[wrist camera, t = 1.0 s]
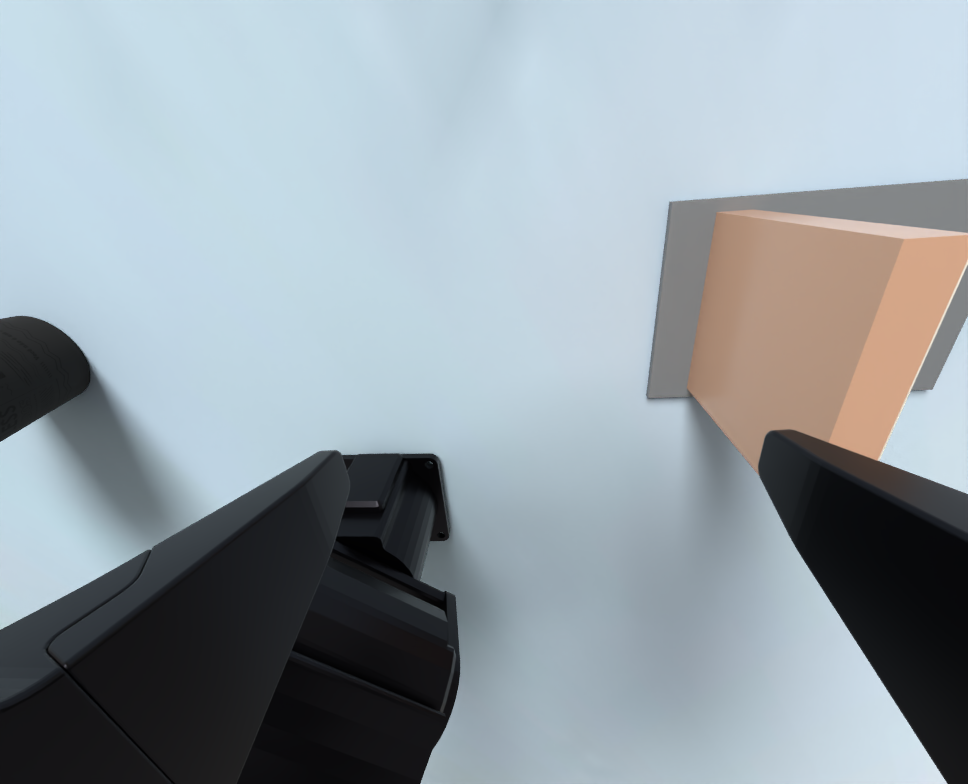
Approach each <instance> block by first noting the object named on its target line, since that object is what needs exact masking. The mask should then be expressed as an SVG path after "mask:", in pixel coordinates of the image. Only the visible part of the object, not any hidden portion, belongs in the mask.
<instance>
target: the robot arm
mask: <svg viewBox="0 0 968 784" xmlns="http://www.w3.org/2000/svg"><path fill="white" fill-rule="evenodd" d="M428 461H430V462H432V463H433V464H428V463H427V462H428ZM758 473H759V476H760V478H761V480H762V482H763V484H764V486H765V488H766V490H767V492H768V494H769V496H770V498H771V500H772V502H773V504H774V506H775V508H776V510H777V512H778V514H779V516H780V518H781V520H782V522H783V524H784V526H785V528H786V530H787V532H788V534H789V536H790V538H791V540H792V542H793V543H794V545H795V547H796V548H797V550H798V552H799V553H800V555H801V557H802V558H803V560H804V561H805V563H806V565H807V566H808V568H809V569H810V571H811V572H812V574H813V575H814V577H815V579H816V580H817V582H818V583H819V585H820V586H821V588H822V589H823V591H824V592H825V594H826V596H827V597H828V599H829V600H830V602H831V603H832V605H833V606H834V608H835V610H836V611H837V613H838V614H839V616H840V617H841V619H842V620H843V622H844V624H845V625H846V627H847V628H848V630H849V631H850V633H851V634H852V636H853V638H854V639H855V641H856V642H857V644H858V645H859V647H860V648H861V650H862V652H863V653H864V655H865V656H866V658H867V659H868V661H869V662H870V664H871V666H872V667H873V669H874V670H875V672H876V673H877V675H878V676H879V678H880V680H881V681H882V683H883V684H884V686H885V687H886V689H887V690H888V692H889V694H890V695H891V697H892V698H893V700H894V701H895V703H896V704H897V706H898V708H899V709H900V711H901V712H902V714H903V715H904V717H905V718H906V720H907V722H908V723H909V725H910V726H911V728H912V729H913V731H914V732H915V734H916V736H917V737H918V739H919V740H920V742H921V743H922V745H923V746H924V748H925V750H926V751H927V753H928V754H929V756H930V757H931V759H932V760H933V762H934V764H935V765H936V767H937V768H938V770H939V771H940V773H941V774H942V776H943V778H944V779H945V781H946V782H947V784H968V494H966V493H964V492H961V491H958V490H955V489H953V488H950V487H947V486H945V485H942V484H939V483H937V482H934V481H931V480H928V479H926V478H923V477H920V476H918V475H915V474H912V473H909V472H907V471H904V470H901V469H899V468H896V467H893V466H891V465H888V464H885V463H882V462H880V461H877V460H874V459H872V458H869V457H866V456H864V455H861V454H858V453H855V452H853V451H850V450H847V449H845V448H842V447H839V446H837V445H834V444H831V443H828V442H826V441H823V440H820V439H818V438H815V437H812V436H810V435H807V434H804V433H801V432H799V431H796V430H791V429H785V430H771V431H769V432H768V433H767V434H766V435H765V438H764V442H763V446H762V450H761V454H760V458H759V462H758ZM440 532H442V533H440ZM449 533H450V528H449V521H448V515H447V509H446V502H445V496H444V489H443V483H442V476H441V470H440V463H439V459H438V457H437V456H436V455H434V454H358V455H341V453H340V452H339V451H337V450H330V451H319V452H317V453H316V454H314V455H312V456H310V457H309V458H307V459H305V460H303V461H302V462H300V463H298V464H296V465H295V466H293V467H291V468H289V469H288V470H286V471H284V472H282V473H281V474H279V475H277V476H276V477H274V478H272V479H270V480H269V481H267V482H265V483H263V484H262V485H260V486H258V487H256V488H255V489H253V490H251V491H249V492H248V493H246V494H244V495H242V496H241V497H239V498H237V499H236V500H234V501H232V502H230V503H229V504H227V505H225V506H223V507H222V508H220V509H218V510H216V511H215V512H213V513H211V514H209V515H208V516H206V517H204V518H203V519H201V520H199V521H197V522H196V523H194V524H192V525H190V526H189V527H187V528H185V529H183V530H182V531H180V532H178V533H176V534H175V535H173V536H171V537H169V538H168V539H166V540H164V541H163V542H161V543H159V544H157V545H156V546H154V547H153V548H152V550H147V551H145V552H143V553H141V554H140V555H138V556H136V557H135V558H133V559H131V560H129V561H128V562H126V563H124V564H122V565H120V566H119V567H117V568H115V569H113V570H112V571H110V572H108V573H106V574H104V575H103V576H101V577H99V578H97V579H95V580H94V581H92V582H90V583H88V584H86V585H85V586H83V587H81V588H79V589H77V590H75V591H73V592H71V593H70V594H68V595H66V596H64V597H62V598H60V599H58V600H57V601H55V602H53V603H51V604H49V605H47V606H45V607H43V608H41V609H40V610H38V611H36V612H34V613H32V614H30V615H28V616H26V617H24V618H22V619H20V620H19V621H17V622H15V623H13V624H11V625H9V626H7V627H5V628H3V629H1V630H0V784H420V783H421V780H422V777H423V774H424V771H425V769H426V766H427V763H428V760H429V757H430V755H431V752H432V750H433V748H434V747H435V745H436V744H437V742H438V741H439V739H440V737H441V735H442V733H443V732H444V730H445V728H446V725H447V723H448V720H449V718H450V715H451V712H452V709H453V706H454V702H455V699H456V695H457V690H458V685H459V677H460V654H459V640H458V626H457V612H456V598H455V595H453V594H451V593H449V592H447V591H445V592H442V591H440V590H438V589H436V588H434V587H431V586H429V585H427V584H425V583H423V582H421V581H420V578H421V574H422V570H423V566H424V562H425V558H426V554H427V550H428V546H429V542H430V541H445V540H447V539H448V538H449Z"/></svg>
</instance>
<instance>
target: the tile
mask: <svg viewBox="0 0 968 784" xmlns="http://www.w3.org/2000/svg"><path fill="white" fill-rule="evenodd" d="M967 265H968V233H964V232H955V231H946V230H937V229H927V228H918V227H909V226H900V225H891V224H882V223H872V222H863V221H854V220H845V219H836V218H827V217H818V216H808V215H799V214H790V213H781V212H772V211H763V210H739V211H726V212H717V213H716V219H715V225H714V231H713V237H712V242H711V248H710V254H709V260H708V266H707V272H706V278H705V284H704V290H703V295H702V301H701V307H700V313H699V319H698V325H697V331H696V337H695V343H694V348H693V354H692V360H691V366H690V372H689V378H688V384H687V389H688V390H689V391H690V393H691V394H692V395H693V396H694V397H695V399H696V400H697V401H698V402H699V403H700V405H701V406H702V407H703V408H704V410H705V411H706V412H707V413H708V414H709V416H710V417H711V418H712V419H713V420H714V422H715V423H716V424H717V425H718V426H719V428H720V429H721V430H722V431H723V433H724V434H725V435H726V436H727V437H728V439H729V440H730V441H731V442H732V443H733V445H734V446H735V447H736V448H737V449H738V451H739V452H740V453H741V454H742V456H743V457H744V458H745V459H746V460H747V462H748V463H749V464H750V465H751V466H752V468H753V469H754V470H755V471H756V472H757V474H758V475H759V473H758V462H759V458H760V454H761V450H762V446H763V442H764V438H765V435H766V434H767V433H768V432H769V431H771V430H785V429H791V430H796V431H799V432H801V433H804V434H807V435H810V436H812V437H815V438H818V439H820V440H823V441H826V442H828V443H831V444H834V445H837V446H839V447H842V448H845V449H847V450H850V451H853V452H855V453H858V454H861V455H864V456H866V457H869V458H872V459H874V460H877V461H879V460H880V458H881V456H882V453H883V451H884V449H885V447H886V445H887V442H888V440H889V438H890V436H891V433H892V431H893V429H894V427H895V425H896V422H897V420H898V418H899V416H900V414H901V411H902V409H903V407H904V405H905V402H906V400H907V398H908V396H909V394H910V391H911V389H912V387H913V385H914V383H915V380H916V378H917V376H918V374H919V371H920V369H921V367H922V365H923V363H924V360H925V358H926V356H927V354H928V352H929V349H930V347H931V345H932V343H933V340H934V338H935V336H936V334H937V332H938V329H939V327H940V325H941V323H942V321H943V318H944V316H945V314H946V312H947V309H948V307H949V305H950V303H951V301H952V298H953V296H954V294H955V292H956V290H957V287H958V285H959V283H960V281H961V278H962V276H963V274H964V272H965V270H966V267H967Z"/></svg>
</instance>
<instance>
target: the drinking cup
mask: <svg viewBox="0 0 968 784" xmlns="http://www.w3.org/2000/svg"><path fill="white" fill-rule="evenodd" d="M89 381H90V371H89V367H88V364H87V361H86V359H85V357H84V355H83V354H82V352H81V351H80V349H79V348H78V347H77V346H76V344H75V343H74V342H73V341H72V340H71V339H70V338H69V337H68V336H67V335H65V334H64V333H63V332H62V331H60V330H59V329H57V328H56V327H54V326H53V325H51V324H49V323H47V322H45V321H42V320H40V319H37V318H33V317H28V316H15V317H9V318H3V319H0V442H1V441H3V440H4V439H6V438H7V437H9V436H11V435H12V434H14V433H16V432H17V431H19V430H21V429H22V428H24V427H26V426H27V425H29V424H31V423H32V422H34V421H36V420H37V419H39V418H41V417H42V416H44V415H46V414H47V413H49V412H51V411H52V410H54V409H56V408H57V407H59V406H61V405H62V404H64V403H66V402H67V401H69V400H71V399H72V398H74V397H76V396H77V395H79V394H81V393H82V392H83V391H84V390H85V389H86V388H87V386H88V384H89Z"/></svg>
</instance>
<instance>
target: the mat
mask: <svg viewBox="0 0 968 784" xmlns="http://www.w3.org/2000/svg"><path fill="white" fill-rule="evenodd" d="M739 210H763V211H772V212H781V213H790V214H799V215H808V216H818V217H827V218H836V219H845V220H854V221H863V222H872V223H882V224H891V225H900V226H909V227H918V228H927V229H937V230H946V231H955V232H964V233H968V179H960V180H947V181H934V182H921V183H908V184H895V185H882V186H869V187H856V188H843V189H830V190H817V191H804V192H791V193H778V194H766V195H753V196H740V197H727V198H714V199H701V200H688V201H675V202H670V204H669V212H668V220H667V229H666V237H665V245H664V254H663V262H662V270H661V278H660V287H659V295H658V303H657V312H656V320H655V328H654V337H653V345H652V353H651V362H650V370H649V378H648V387H647V397H648V398H668V397H694V396H693V395H692V394H691V393H690V391H689V390H688V389H687V384H688V378H689V372H690V366H691V360H692V354H693V348H694V343H695V337H696V331H697V325H698V319H699V313H700V307H701V301H702V295H703V290H704V284H705V278H706V272H707V266H708V260H709V254H710V248H711V242H712V237H713V231H714V225H715V219H716V213H717V212H726V211H739ZM967 316H968V265H967V267H966V270H965V272H964V274H963V276H962V278H961V281H960V283H959V285H958V287H957V290H956V292H955V294H954V296H953V298H952V301H951V303H950V305H949V307H948V309H947V312H946V314H945V316H944V318H943V321H942V323H941V325H940V327H939V329H938V332H937V334H936V336H935V338H934V340H933V343H932V345H931V347H930V349H929V352H928V354H927V356H926V358H925V360H924V363H923V365H922V367H921V369H920V371H919V374H918V376H917V378H916V380H915V383H914V385H913V387H912V389H911V390H932V389H933V387H934V385H935V383H936V381H937V379H938V377H939V375H940V372H941V370H942V368H943V366H944V364H945V362H946V360H947V358H948V356H949V354H950V352H951V349H952V347H953V345H954V343H955V341H956V339H957V337H958V335H959V333H960V331H961V329H962V326H963V324H964V322H965V320H966V318H967Z"/></svg>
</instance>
